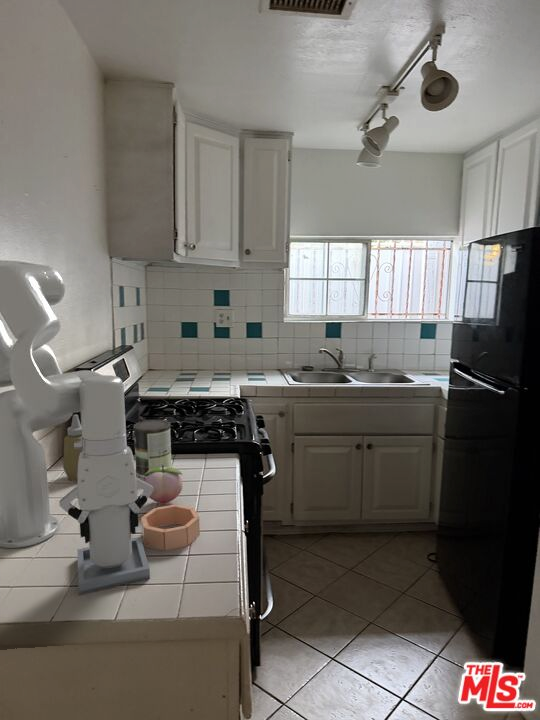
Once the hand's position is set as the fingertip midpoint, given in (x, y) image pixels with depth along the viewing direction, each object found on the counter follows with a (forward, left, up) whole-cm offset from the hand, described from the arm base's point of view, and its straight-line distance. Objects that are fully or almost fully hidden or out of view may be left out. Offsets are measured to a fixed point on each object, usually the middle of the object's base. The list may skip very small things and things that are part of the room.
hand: (110, 534), depth 89 cm
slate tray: (0, 0, -7) cm, 7 cm away
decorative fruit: (+14, +24, -7) cm, 29 cm away
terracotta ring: (+13, +8, -7) cm, 16 cm away
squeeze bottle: (-5, +50, -7) cm, 51 cm away
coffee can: (+15, +46, -7) cm, 49 cm away
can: (0, 0, -5) cm, 5 cm away
